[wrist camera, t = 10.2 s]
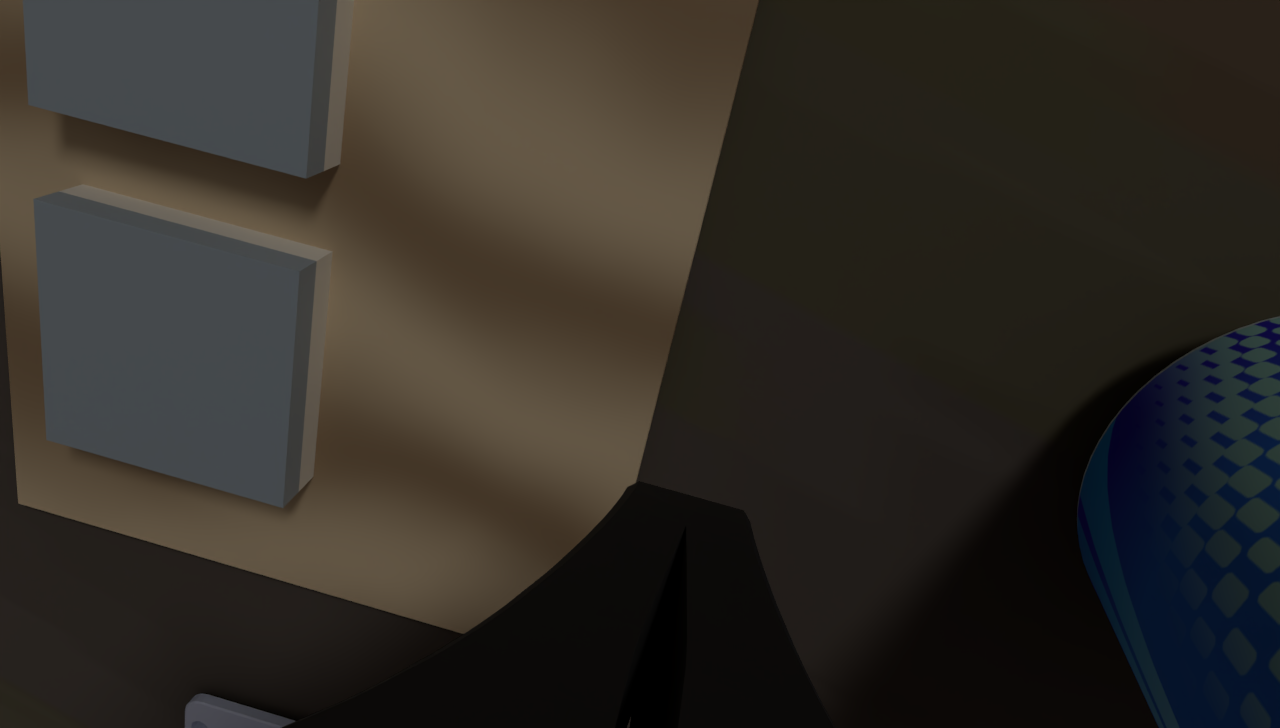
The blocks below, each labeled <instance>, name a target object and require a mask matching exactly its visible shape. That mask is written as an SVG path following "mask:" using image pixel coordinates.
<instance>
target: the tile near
mask: <svg viewBox="0 0 1280 728" xmlns="http://www.w3.org/2000/svg"><path fill="white" fill-rule="evenodd" d="M353 8H354V0H23V14H24V32H25V51H26V69H27V88H28V105H30V106H34V107H38V108H42V109H46V110H49V111H53V112H57V113H61V114H64V115H68V116H72V117H76V118H79V119H83V120H87V121H91V122H95V123H98V124H102V125H106V126H110V127H113V128H117V129H121V130H125V131H128V132H132V133H136V134H140V135H144V136H147V137H151V138H155V139H159V140H162V141H166V142H170V143H174V144H177V145H181V146H185V147H189V148H193V149H196V150H200V151H204V152H208V153H211V154H215V155H219V156H223V157H226V158H230V159H234V160H238V161H242V162H245V163H249V164H253V165H257V166H260V167H264V168H268V169H272V170H275V171H279V172H283V173H287V174H291V175H294V176H298V177H302V178H306V179H307V178H309V177H311V176H314V175H316V174H318V173H321V172H323V171H325V170H328V169H330V168H333V167H335V166H337V165H340V160H341V148H342V137H343V125H344V113H345V101H346V90H347V78H348V66H349V55H350V43H351V31H352V19H353Z"/></svg>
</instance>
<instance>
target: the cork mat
mask: <svg viewBox="0 0 1280 728" xmlns="http://www.w3.org/2000/svg"><path fill="white" fill-rule="evenodd" d="M758 4H759V0H354V8H353V19H352V31H351V43H350V55H349V66H348V78H347V90H346V101H345V113H344V125H343V137H342V148H341V160H340V165H337V166H335V167H333V168H330V169H328V170H325V171H323V172H321V173H318V174H316V175H314V176H311V177H309V178H307V179H306V178H302V177H298V176H294V175H291V174H287V173H283V172H279V171H275V170H272V169H268V168H264V167H260V166H257V165H253V164H249V163H245V162H242V161H238V160H234V159H230V158H226V157H223V156H219V155H215V154H211V153H208V152H204V151H200V150H196V149H193V148H189V147H185V146H181V145H177V144H174V143H170V142H166V141H162V140H159V139H155V138H151V137H147V136H144V135H140V134H136V133H132V132H128V131H125V130H121V129H117V128H113V127H110V126H106V125H102V124H98V123H95V122H91V121H87V120H83V119H79V118H76V117H72V116H68V115H64V114H61V113H57V112H53V111H49V110H46V109H42V108H38V107H34V106H30V105H28V88H27V69H26V51H25V32H24V14H23V0H0V251H1V265H2V279H3V293H4V308H5V322H6V336H7V350H8V364H9V378H10V392H11V407H12V421H13V435H14V449H15V463H16V477H17V491H18V503H19V504H22V505H26V506H29V507H32V508H36V509H39V510H43V511H46V512H49V513H53V514H56V515H60V516H63V517H66V518H70V519H73V520H77V521H80V522H83V523H87V524H90V525H94V526H97V527H100V528H104V529H107V530H111V531H114V532H118V533H121V534H124V535H128V536H131V537H135V538H138V539H141V540H145V541H148V542H152V543H155V544H158V545H162V546H165V547H169V548H172V549H175V550H179V551H182V552H186V553H189V554H193V555H196V556H199V557H203V558H206V559H210V560H213V561H216V562H220V563H223V564H227V565H230V566H233V567H237V568H240V569H244V570H247V571H250V572H254V573H257V574H261V575H264V576H268V577H271V578H274V579H278V580H281V581H285V582H288V583H291V584H295V585H298V586H302V587H305V588H308V589H312V590H315V591H319V592H322V593H325V594H329V595H332V596H336V597H339V598H343V599H346V600H349V601H353V602H356V603H360V604H363V605H366V606H370V607H373V608H377V609H380V610H383V611H387V612H390V613H394V614H397V615H400V616H404V617H407V618H411V619H414V620H418V621H421V622H424V623H428V624H431V625H435V626H438V627H441V628H445V629H448V630H452V631H455V632H458V633H462V634H465V633H466V632H468V631H469V630H471V629H472V628H474V627H475V626H477V625H478V624H480V623H481V622H482V621H484V620H485V619H487V618H488V617H490V616H491V615H492V614H494V613H495V612H497V611H498V610H499V609H501V608H502V607H503V606H505V605H506V604H507V603H509V602H510V601H511V600H512V599H514V598H515V597H516V596H517V595H519V594H520V593H521V592H523V591H524V590H525V589H526V588H528V587H529V586H530V585H531V584H533V583H534V582H535V581H536V580H538V579H539V578H540V577H541V576H543V575H544V574H545V573H546V572H548V571H549V570H550V569H551V568H552V567H553V566H554V565H556V564H557V563H558V562H559V561H560V560H561V559H562V558H563V557H564V556H565V555H566V554H567V553H569V552H570V551H571V550H572V549H573V548H574V547H575V546H576V545H577V544H578V543H579V542H580V541H581V540H582V539H583V538H585V537H586V536H587V535H588V534H589V533H590V532H591V531H592V529H593V528H594V527H595V526H596V525H597V524H598V523H599V522H600V521H601V520H602V519H603V518H604V517H605V516H606V514H607V513H608V512H609V511H610V510H611V509H612V508H613V506H614V505H615V504H616V503H617V501H618V500H619V499H620V497H621V496H622V495H623V493H624V491H625V490H626V488H627V487H628V486H630V485H632V484H634V483H636V481H637V477H638V473H639V470H640V466H641V462H642V458H643V454H644V450H645V446H646V442H647V438H648V434H649V430H650V426H651V423H652V419H653V415H654V411H655V407H656V403H657V399H658V395H659V391H660V387H661V383H662V380H663V376H664V372H665V368H666V364H667V360H668V356H669V352H670V348H671V344H672V340H673V337H674V333H675V329H676V325H677V321H678V317H679V313H680V309H681V305H682V301H683V297H684V293H685V290H686V286H687V282H688V278H689V274H690V270H691V266H692V262H693V258H694V254H695V250H696V247H697V243H698V239H699V235H700V231H701V227H702V223H703V219H704V215H705V211H706V207H707V204H708V200H709V196H710V192H711V188H712V184H713V180H714V176H715V172H716V168H717V164H718V160H719V157H720V153H721V149H722V145H723V141H724V137H725V133H726V129H727V125H728V121H729V117H730V114H731V110H732V106H733V102H734V98H735V94H736V90H737V86H738V82H739V78H740V74H741V71H742V67H743V63H744V59H745V55H746V51H747V47H748V43H749V39H750V35H751V31H752V27H753V24H754V20H755V16H756V12H757V8H758ZM82 184H84V185H88V186H92V187H95V188H99V189H103V190H106V191H110V192H114V193H117V194H121V195H125V196H129V197H132V198H136V199H140V200H143V201H147V202H151V203H154V204H158V205H162V206H166V207H169V208H173V209H177V210H180V211H184V212H188V213H192V214H195V215H199V216H203V217H206V218H210V219H214V220H217V221H221V222H225V223H229V224H232V225H236V226H240V227H243V228H247V229H251V230H255V231H258V232H262V233H266V234H269V235H273V236H277V237H280V238H284V239H288V240H292V241H295V242H299V243H303V244H306V245H310V246H314V247H318V248H321V249H325V250H329V251H332V252H333V253H332V265H331V276H330V288H329V300H328V312H327V323H326V335H325V347H324V359H323V370H322V382H321V394H320V405H319V417H318V429H317V441H316V452H315V464H314V476H313V478H312V479H311V480H310V481H309V482H308V483H307V484H306V485H305V486H304V487H303V488H302V489H301V490H300V491H299V492H298V493H297V494H296V495H295V496H294V497H293V498H292V499H291V500H290V501H289V502H288V503H287V504H286V505H285V507H284V508H281V507H277V506H274V505H270V504H267V503H263V502H260V501H256V500H253V499H249V498H246V497H242V496H239V495H236V494H232V493H229V492H225V491H222V490H218V489H215V488H211V487H208V486H204V485H201V484H197V483H194V482H190V481H187V480H184V479H180V478H177V477H173V476H170V475H166V474H163V473H159V472H156V471H152V470H149V469H145V468H142V467H138V466H135V465H132V464H128V463H125V462H121V461H118V460H114V459H111V458H107V457H104V456H100V455H97V454H93V453H90V452H86V451H83V450H80V449H76V448H73V447H69V446H66V445H62V444H59V443H55V442H52V441H48V440H46V423H45V405H44V386H43V367H42V349H41V330H40V312H39V293H38V275H37V256H36V238H35V219H34V201H33V199H35V198H39V197H42V196H45V195H49V194H52V193H55V192H59V191H62V190H65V189H69V188H72V187H75V186H79V185H82Z"/></svg>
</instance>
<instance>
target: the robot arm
mask: <svg viewBox="0 0 1280 728" xmlns="http://www.w3.org/2000/svg"><path fill="white" fill-rule="evenodd" d="M630 717H631V721H630V728H835V726H834V724H833V722H832V721H831V719H830V717H829V715H828V713H827V711H826V710H825V708H824V706H823V704H822V702H821V700H820V698H819V696H818V694H817V692H816V690H815V688H814V686H813V684H812V682H811V680H810V678H809V676H808V674H807V672H806V670H805V668H804V666H803V664H802V662H801V660H800V658H799V655H798V653H797V651H796V649H795V647H794V645H793V642H792V640H791V637H790V635H789V633H788V630H787V628H786V625H785V623H784V621H783V618H782V616H781V614H780V611H779V609H778V606H777V604H776V601H775V599H774V596H773V594H772V591H771V588H770V586H769V583H768V580H767V577H766V574H765V571H764V568H763V565H762V563H761V559H760V556H759V553H758V550H757V546H756V543H755V540H754V536H753V532H752V528H751V524H750V521H749V519H748V517H747V516H746V514H745V512H744V510H740V509H736V508H733V507H729V506H726V505H722V504H719V503H715V502H711V501H708V500H704V499H701V498H697V497H694V496H690V495H686V494H683V493H679V492H676V491H672V490H669V489H665V488H661V487H658V486H654V485H651V484H647V483H644V482H640V481H639V482H637V483H634V484H632V485H630V486H628V487H627V488H626V490H625V491H624V493H623V495H622V496H621V497H620V499H619V500H618V501H617V503H616V504H615V505H614V506H613V508H612V509H611V510H610V511H609V512H608V513H607V514H606V516H605V517H604V518H603V519H602V520H601V521H600V522H599V523H598V524H597V525H596V526H595V527H594V528H593V529H592V531H591V532H590V533H589V534H588V535H587V536H586V537H585V538H583V539H582V540H581V541H580V542H579V543H578V544H577V545H576V546H575V547H574V548H573V549H572V550H571V551H570V552H569V553H567V554H566V555H565V556H564V557H563V558H562V559H561V560H560V561H559V562H558V563H557V564H556V565H554V566H553V567H552V568H551V569H550V570H549V571H548V572H546V573H545V574H544V575H543V576H541V577H540V578H539V579H538V580H536V581H535V582H534V583H533V584H531V585H530V586H529V587H528V588H526V589H525V590H524V591H523V592H521V593H520V594H519V595H517V596H516V597H515V598H514V599H512V600H511V601H510V602H509V603H507V604H506V605H505V606H503V607H502V608H501V609H499V610H498V611H497V612H495V613H494V614H492V615H491V616H490V617H488V618H487V619H485V620H484V621H482V622H481V623H480V624H478V625H477V626H475V627H474V628H472V629H471V630H469V631H468V632H466V633H465V634H463V635H461V636H460V637H458V638H457V639H455V640H453V641H452V642H450V643H449V644H447V645H446V646H444V647H442V648H441V649H439V650H438V651H436V652H434V653H433V654H431V655H429V656H427V657H425V658H424V659H422V660H420V661H418V662H416V663H415V664H413V665H411V666H409V667H407V668H406V669H404V670H402V671H400V672H398V673H397V674H395V675H393V676H391V677H389V678H388V679H386V680H384V681H382V682H380V683H378V684H376V685H374V686H372V687H370V688H368V689H366V690H364V691H362V692H360V693H358V694H356V695H354V696H352V697H350V698H348V699H346V700H344V701H341V702H339V703H337V704H334V705H332V706H330V707H328V708H325V709H323V710H321V711H318V712H316V713H314V714H311V715H309V716H307V717H304V718H302V719H300V720H297V721H295V720H291V719H288V718H285V717H282V716H278V715H275V714H272V713H268V712H265V711H262V710H258V709H255V708H252V707H248V706H245V705H242V704H239V703H235V702H232V701H229V700H225V699H222V698H219V697H215V696H212V695H209V694H202V693H201V694H197V695H195V696H194V697H193V698H192V699H191V700H190V701H189V703H188V704H187V705H186V708H185V728H627V725H628V723H629V720H630Z"/></svg>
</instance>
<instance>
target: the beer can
mask: <svg viewBox="0 0 1280 728" xmlns="http://www.w3.org/2000/svg"><path fill="white" fill-rule="evenodd" d="M1077 530H1078V538H1079V546H1080V550H1081V555H1082V559H1083V562H1084V565H1085V568H1086V570H1087V573H1088V576H1089V578H1090V580H1091V582H1092V585H1093V587H1094V589H1095V591H1096V593H1097V595H1098V597H1099V600H1100V602H1101V604H1102V606H1103V608H1104V610H1105V613H1106V615H1107V617H1108V619H1109V621H1110V623H1111V626H1112V628H1113V630H1114V632H1115V634H1116V636H1117V639H1118V641H1119V643H1120V645H1121V647H1122V649H1123V652H1124V654H1125V656H1126V658H1127V660H1128V662H1129V665H1130V667H1131V669H1132V671H1133V673H1134V675H1135V678H1136V680H1137V682H1138V684H1139V686H1140V688H1141V691H1142V693H1143V695H1144V697H1145V699H1146V701H1147V704H1148V706H1149V708H1150V710H1151V712H1152V714H1153V717H1154V719H1155V721H1156V723H1157V725H1158V727H1159V728H1280V316H1278V317H1274V318H1270V319H1266V320H1262V321H1259V322H1256V323H1253V324H1250V325H1247V326H1244V327H1241V328H1238V329H1236V330H1233V331H1231V332H1229V333H1226V334H1224V335H1221V336H1219V337H1217V338H1214V339H1213V340H1211V341H1209V342H1207V343H1205V344H1203V345H1201V346H1199V347H1197V348H1195V349H1193V350H1192V351H1190V352H1188V353H1187V354H1185V355H1184V356H1182V357H1180V358H1179V359H1177V360H1176V361H1174V362H1173V363H1171V364H1170V365H1169V366H1167V367H1166V368H1165V369H1163V370H1162V371H1160V372H1159V373H1158V374H1156V375H1155V376H1154V377H1153V378H1152V379H1150V380H1149V381H1148V382H1147V383H1146V384H1145V385H1144V386H1143V387H1141V388H1140V389H1139V390H1138V391H1137V392H1136V393H1135V394H1134V395H1133V396H1132V397H1131V398H1130V400H1129V401H1128V402H1127V403H1126V404H1125V405H1124V406H1123V407H1122V408H1121V410H1120V411H1119V412H1118V413H1117V415H1116V416H1115V417H1114V418H1113V420H1112V421H1111V422H1110V424H1109V425H1108V427H1107V428H1106V430H1105V432H1104V433H1103V435H1102V436H1101V438H1100V439H1099V441H1098V443H1097V445H1096V447H1095V449H1094V451H1093V453H1092V455H1091V457H1090V460H1089V462H1088V465H1087V468H1086V470H1085V473H1084V476H1083V480H1082V484H1081V488H1080V492H1079V500H1078V507H1077Z"/></svg>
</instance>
